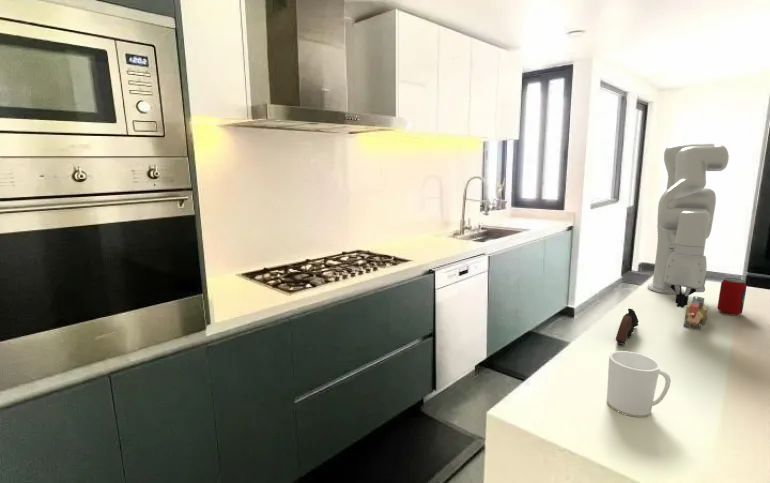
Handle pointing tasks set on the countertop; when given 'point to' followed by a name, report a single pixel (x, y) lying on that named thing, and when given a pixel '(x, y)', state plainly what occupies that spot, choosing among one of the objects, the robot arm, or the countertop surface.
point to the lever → (696, 304)
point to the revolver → (627, 326)
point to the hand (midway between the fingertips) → (680, 306)
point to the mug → (634, 383)
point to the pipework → (695, 317)
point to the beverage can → (732, 296)
